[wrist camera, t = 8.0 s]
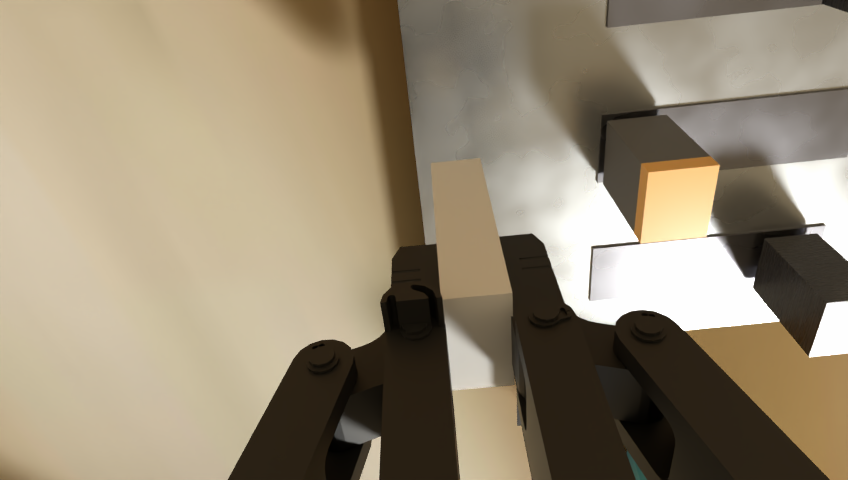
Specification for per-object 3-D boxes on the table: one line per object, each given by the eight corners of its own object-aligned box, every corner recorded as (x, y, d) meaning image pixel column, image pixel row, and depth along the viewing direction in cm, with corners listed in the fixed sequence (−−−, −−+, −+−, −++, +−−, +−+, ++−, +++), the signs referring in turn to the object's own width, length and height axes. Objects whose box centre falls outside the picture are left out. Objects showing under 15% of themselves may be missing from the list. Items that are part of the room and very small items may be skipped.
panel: (436, 324, 28) (444, 435, 22) (384, -127, 18) (378, -123, 13) (914, 277, 27) (1041, 379, 22) (1120, -212, 18) (1436, -245, 12)
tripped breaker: (602, 183, 22) (640, 243, 18) (607, 121, 20) (648, 172, 17) (658, 178, 22) (706, 237, 18) (666, 114, 20) (719, 165, 17)
